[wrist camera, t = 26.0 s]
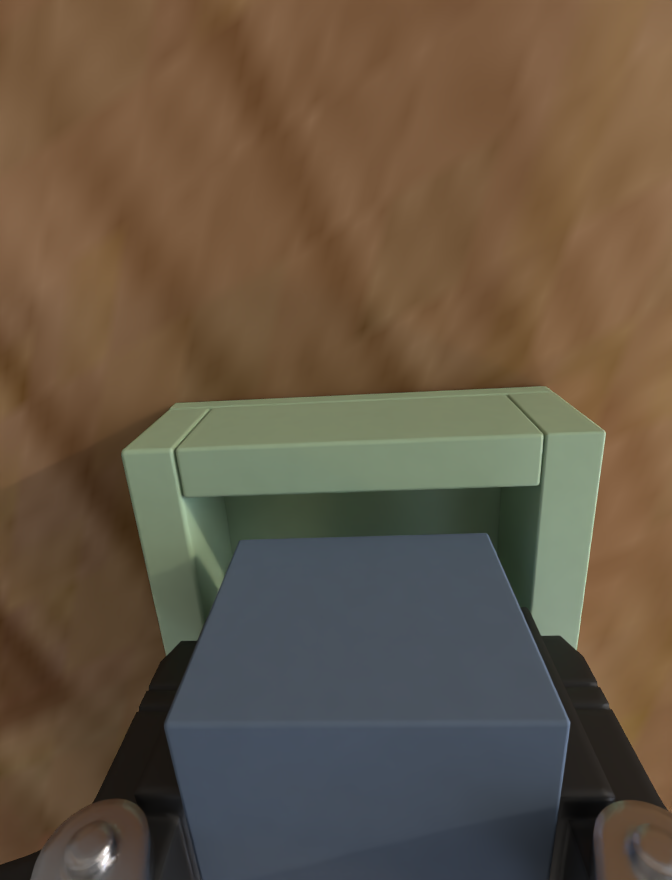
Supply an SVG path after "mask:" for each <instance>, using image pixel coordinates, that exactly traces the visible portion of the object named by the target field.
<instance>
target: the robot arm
mask: <svg viewBox="0 0 672 880" xmlns="http://www.w3.org/2000/svg"><path fill="white" fill-rule="evenodd" d="M520 609H521V611H522V613H523V615H524V618H525V620H526V622H527V625H528V627H529V629H530V631H531V634H532V636H533V638H534V641H535V643H536V645H537V647H538V650H539V652H540V654H541V657H542V659H543V661H544V663H545V666H546V668H547V670H548V673H549V675H550V677H551V679H552V682H553V684H554V686H555V689H556V691H557V693H558V695H559V698H560V700H561V702H562V705H563V707H564V709H565V711H566V714H567V716H568V718H569V721H570V731H569V738H568V745H567V753H566V760H565V767H564V775H563V782H562V789H561V797H560V804H559V811H558V819H557V826H556V833H555V840H554V848H553V855H552V862H551V870H550V877H549V880H672V813H671V812H669V811H668V810H667V809H666V807H665V806H664V804H663V803H662V801H661V799H660V798H659V796H658V794H657V792H656V790H655V789H654V787H653V785H652V783H651V781H650V779H649V777H648V776H647V774H646V772H645V770H644V768H643V766H642V764H641V763H640V761H639V759H638V757H637V755H636V753H635V751H634V750H633V748H632V746H631V744H630V742H629V740H628V738H627V737H626V735H625V733H624V731H623V729H622V727H621V725H620V724H619V722H618V720H617V718H616V716H615V714H614V713H613V711H612V709H611V710H610V708H609V703H608V701H607V700H606V698H605V696H604V694H603V692H602V690H601V688H600V687H598V686H597V681H596V679H595V677H594V675H593V674H592V672H591V670H590V668H589V666H588V664H587V662H586V661H585V659H584V657H583V656H582V655H581V654H580V653H579V652H578V651H577V650H576V649H574V648H573V647H572V646H571V645H570V644H569V643H568V642H567V641H566V640H565V639H563V638H562V637H561V636H560V635H556V636H541V634H540V632H539V630H538V628H537V626H536V623H535V621H534V619H533V617H532V615H531V613H530V611H529V609H528V608H527V607H520ZM207 618H208V616H207ZM207 618H206V620H207ZM206 620H205V622H206ZM204 625H205V623H204ZM204 625H203V627H204ZM202 630H203V628H202ZM202 630H201V632H202ZM200 635H201V633H200ZM200 635H199V637H200ZM199 637H198V639H199ZM197 642H198V640H197V641H181V642H180V643H179V644H178V645H177V646H176V647H175V648H174V649H173V650H172V651H171V652H170V653H169V654H168V655H167V656H166V657H165V658H164V659H163V660H162V661H161V662H160V664H159V666H158V668H157V670H156V673H155V675H154V677H153V679H152V681H151V683H150V685H149V691H146V693H145V696H144V698H143V700H142V702H141V704H140V706H139V712H136V714H135V717H134V719H133V721H132V723H131V725H130V727H129V729H128V731H127V733H126V735H125V738H124V740H123V742H122V744H121V746H120V748H119V750H118V752H117V754H116V756H115V759H114V761H113V763H112V765H111V767H110V769H109V771H108V773H107V775H106V777H105V780H104V782H103V784H102V786H101V788H100V790H99V792H98V794H97V796H96V798H95V800H94V801H93V803H92V804H90V805H88V806H86V807H84V808H82V809H81V810H79V811H78V812H76V813H75V814H73V815H72V816H71V817H69V818H68V819H67V820H66V821H65V822H63V823H62V824H61V825H60V826H59V827H58V828H57V829H56V830H55V832H54V833H53V834H52V835H51V837H50V838H49V839H48V840H47V842H46V843H45V845H44V847H43V848H42V849H41V850H40V851H38V852H35V853H33V854H30V855H28V856H25V857H23V858H20V859H17V860H14V861H11V862H8V863H5V864H2V865H0V880H201V878H200V874H199V870H198V866H197V862H196V857H195V853H194V849H193V845H192V841H191V837H190V833H189V829H188V824H187V820H186V816H185V812H184V808H183V804H182V800H181V796H180V791H179V787H178V783H177V779H176V775H175V771H174V767H173V763H172V759H171V754H170V750H169V746H168V742H167V738H166V734H165V730H164V723H165V720H166V717H167V715H168V713H169V710H170V708H171V705H172V703H173V700H174V698H175V695H176V693H177V691H178V688H179V686H180V683H181V681H182V678H183V676H184V674H185V671H186V669H187V666H188V664H189V661H190V659H191V657H192V654H193V652H194V649H195V647H196V644H197Z"/></svg>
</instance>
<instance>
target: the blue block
mask: <svg viewBox="0 0 672 880" xmlns="http://www.w3.org/2000/svg"><path fill="white" fill-rule="evenodd" d="M164 730H165V734H166V738H167V742H168V746H169V750H170V754H171V759H172V763H173V767H174V771H175V775H176V779H177V783H178V787H179V791H180V796H181V800H182V804H183V808H184V812H185V816H186V820H187V824H188V829H189V833H190V837H191V841H192V845H193V849H194V853H195V857H196V862H197V866H198V870H199V874H200V878H201V880H549V877H550V870H551V862H552V855H553V848H554V840H555V833H556V826H557V819H558V811H559V804H560V797H561V789H562V782H563V775H564V767H565V760H566V753H567V745H568V738H569V731H570V721H569V718H568V716H567V714H566V711H565V709H564V707H563V705H562V702H561V700H560V698H559V695H558V693H557V691H556V689H555V686H554V684H553V682H552V679H551V677H550V675H549V673H548V670H547V668H546V666H545V663H544V661H543V659H542V657H541V654H540V652H539V650H538V647H537V645H536V643H535V641H534V638H533V636H532V634H531V631H530V629H529V627H528V625H527V622H526V620H525V618H524V615H523V613H522V611H521V609H520V606H519V604H518V602H517V599H516V597H515V595H514V593H513V590H512V588H511V586H510V583H509V581H508V579H507V577H506V574H505V572H504V570H503V567H502V565H501V563H500V560H499V558H498V556H497V554H496V551H495V549H494V547H493V544H492V542H491V540H490V538H489V535H488V534H487V533H463V534H428V535H392V536H357V537H321V538H286V539H250V540H240V541H239V542H238V545H237V547H236V549H235V552H234V554H233V557H232V559H231V562H230V564H229V566H228V569H227V571H226V574H225V576H224V579H223V581H222V584H221V586H220V588H219V591H218V593H217V596H216V598H215V601H214V603H213V605H212V608H211V610H210V613H209V615H208V618H207V620H206V622H205V625H204V627H203V630H202V632H201V635H200V637H199V639H198V642H197V644H196V647H195V649H194V652H193V654H192V657H191V659H190V661H189V664H188V666H187V669H186V671H185V674H184V676H183V678H182V681H181V683H180V686H179V688H178V691H177V693H176V695H175V698H174V700H173V703H172V705H171V708H170V710H169V713H168V715H167V717H166V720H165V723H164Z"/></svg>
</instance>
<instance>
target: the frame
mask: <svg viewBox="0 0 672 880" xmlns="http://www.w3.org/2000/svg"><path fill="white" fill-rule="evenodd" d="M605 435H606V433H605V431H604V430H603V429H601V428H600V427H599V426H598V425H596V424H595V423H594V422H592V421H591V420H590V419H588V418H587V417H586V416H584V415H583V414H582V413H580V412H579V411H578V410H576V409H575V408H574V407H573V406H571V405H570V404H569V403H567V402H566V401H565V400H563V399H562V398H561V397H559V396H558V395H557V394H555V393H554V392H552V391H551V390H550V389H548V388H547V387H545V386H537V387H515V388H493V389H471V390H449V391H427V392H406V393H384V394H362V395H340V396H318V397H296V398H274V399H253V400H231V401H209V402H187V403H175V404H174V405H173V406H172V407H171V408H169V411H167V412H166V413H165V414H163V415H162V416H161V417H160V418H159V419H158V420H157V421H155V422H154V423H153V424H152V425H151V426H150V427H148V428H147V429H146V430H145V431H144V432H143V433H142V434H140V435H139V436H138V437H137V438H136V439H135V440H134V441H132V442H131V443H130V444H129V445H128V446H127V447H125V448H124V449H123V450H122V453H121V457H122V461H123V466H124V470H125V474H126V479H127V483H128V488H129V492H130V497H131V501H132V506H133V510H134V515H135V519H136V524H137V528H138V533H139V537H140V541H141V546H142V550H143V555H144V559H145V564H146V568H147V573H148V577H149V582H150V586H151V591H152V595H153V600H154V604H155V608H156V613H157V617H158V622H159V626H160V631H161V635H162V640H163V644H164V649H165V653H166V656H167V655H168V654H169V653H170V652H171V651H172V650H173V649H174V648H175V647H176V646H177V645H178V644H179V643H180V642H181V641H197V640H198V637H199V635H200V633H201V630H202V628H203V625H204V623H205V620H206V618H207V616H208V615H209V613H210V610H211V608H212V605H213V603H214V601H215V598H216V596H217V593H218V591H219V588H220V586H221V584H222V581H223V579H224V576H225V574H226V571H227V569H228V566H229V564H230V562H231V559H232V557H233V554H234V552H235V549H236V547H237V545H238V542H239V541H240V540H250V539H286V538H321V537H357V536H392V535H428V534H463V533H487V534H488V535H489V538H490V540H491V542H492V544H493V547H494V549H495V551H496V554H497V556H498V558H499V560H500V563H501V565H502V567H503V570H504V572H505V574H506V577H507V579H508V581H509V583H510V586H511V588H512V590H513V593H514V595H515V597H516V599H517V602H518V604H519V606H520V607H527V608H528V609H529V611H530V613H531V615H532V617H533V619H534V621H535V623H536V626H537V628H538V630H539V632H540V634H541V636H556V635H560V636H561V637H562V638H563V639H565V640H566V641H567V642H568V643H569V644H570V645H571V646H572V647H573V648H574V649H576V650H577V644H578V637H579V629H580V622H581V614H582V607H583V599H584V592H585V584H586V577H587V569H588V562H589V555H590V547H591V540H592V532H593V525H594V517H595V510H596V502H597V495H598V487H599V480H600V472H601V465H602V457H603V450H604V443H605Z"/></svg>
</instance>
